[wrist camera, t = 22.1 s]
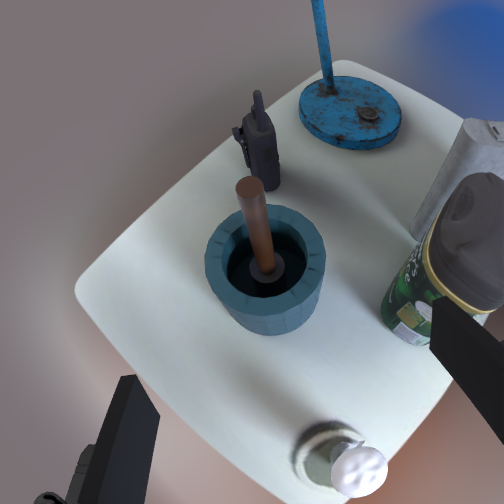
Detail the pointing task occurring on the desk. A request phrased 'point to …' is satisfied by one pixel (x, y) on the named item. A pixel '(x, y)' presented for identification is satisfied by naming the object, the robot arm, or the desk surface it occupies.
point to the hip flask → (463, 167)
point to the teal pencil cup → (240, 280)
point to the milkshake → (357, 469)
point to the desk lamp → (346, 103)
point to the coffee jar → (452, 261)
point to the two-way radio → (259, 144)
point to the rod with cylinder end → (261, 239)
